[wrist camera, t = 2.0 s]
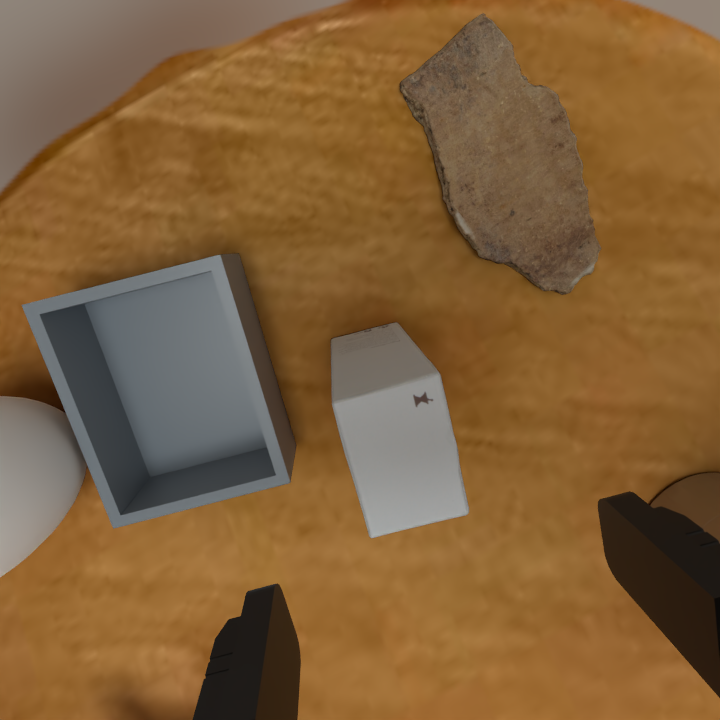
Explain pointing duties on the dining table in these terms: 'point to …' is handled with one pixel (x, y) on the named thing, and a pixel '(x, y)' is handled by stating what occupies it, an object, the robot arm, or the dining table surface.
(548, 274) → the pottery shard
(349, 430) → the skincare box
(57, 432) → the sauce bottle
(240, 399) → the bin
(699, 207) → the dining table surface
